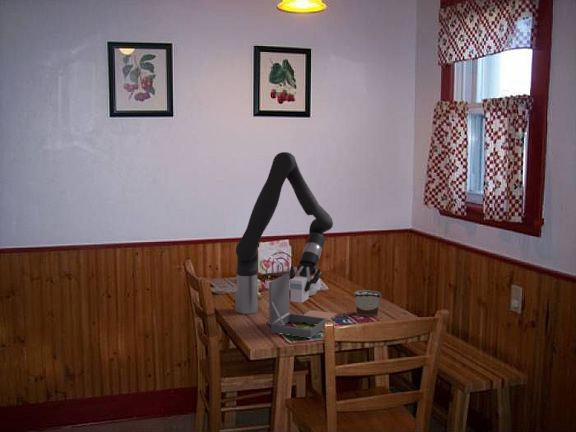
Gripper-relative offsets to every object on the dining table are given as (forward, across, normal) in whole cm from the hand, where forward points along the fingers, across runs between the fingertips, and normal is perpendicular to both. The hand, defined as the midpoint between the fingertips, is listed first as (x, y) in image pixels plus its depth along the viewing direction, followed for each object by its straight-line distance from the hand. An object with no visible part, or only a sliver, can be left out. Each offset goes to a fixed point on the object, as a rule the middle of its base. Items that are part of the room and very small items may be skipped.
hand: (299, 290), depth 267 cm
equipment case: (+12, 0, +12) cm, 17 cm away
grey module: (+3, 0, +3) cm, 4 cm away
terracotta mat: (-1, 0, +25) cm, 25 cm away
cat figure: (-18, -43, +43) cm, 64 cm away
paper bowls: (-25, -20, +49) cm, 59 cm away
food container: (-12, +18, +36) cm, 42 cm away
